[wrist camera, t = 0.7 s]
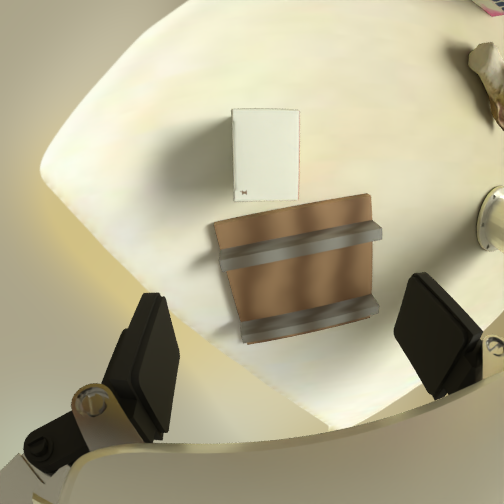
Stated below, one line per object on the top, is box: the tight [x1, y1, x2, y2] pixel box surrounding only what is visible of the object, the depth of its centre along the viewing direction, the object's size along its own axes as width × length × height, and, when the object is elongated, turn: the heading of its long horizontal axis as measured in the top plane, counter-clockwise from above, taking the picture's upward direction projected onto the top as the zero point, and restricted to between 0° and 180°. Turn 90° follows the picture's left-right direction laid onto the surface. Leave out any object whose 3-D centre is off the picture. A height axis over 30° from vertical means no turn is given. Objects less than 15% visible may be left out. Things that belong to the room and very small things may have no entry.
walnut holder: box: [214, 194, 382, 345], centre depth 37 cm, size 20×20×4 cm
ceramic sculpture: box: [468, 42, 504, 131], centre depth 22 cm, size 11×9×15 cm
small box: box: [231, 108, 300, 202], centre depth 26 cm, size 8×6×10 cm
